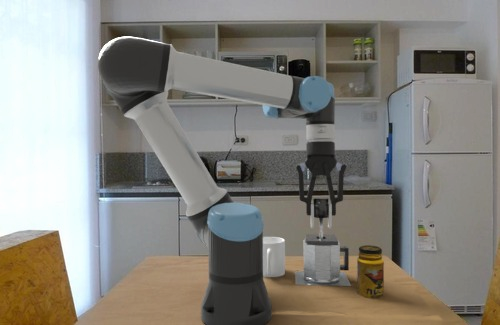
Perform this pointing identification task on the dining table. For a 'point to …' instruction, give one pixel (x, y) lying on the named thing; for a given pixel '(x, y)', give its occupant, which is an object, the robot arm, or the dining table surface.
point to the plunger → (320, 212)
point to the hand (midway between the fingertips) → (321, 227)
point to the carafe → (323, 259)
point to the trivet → (301, 281)
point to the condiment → (370, 272)
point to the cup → (273, 256)
